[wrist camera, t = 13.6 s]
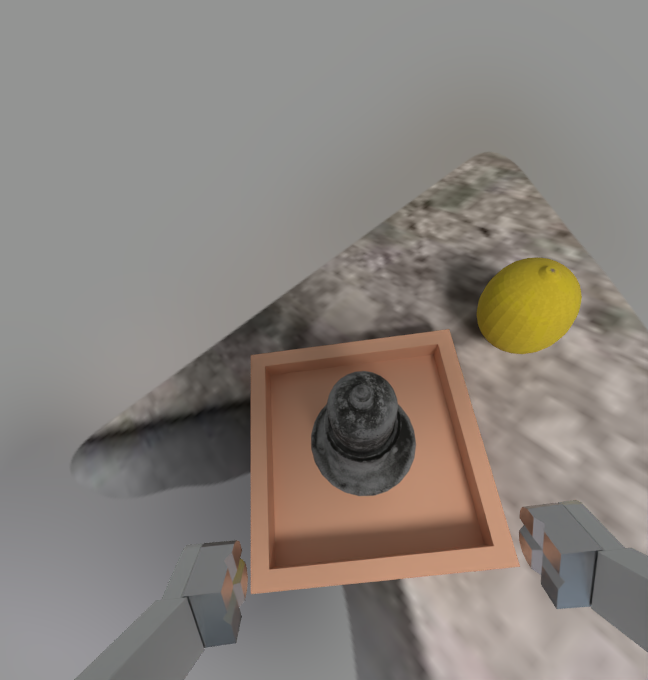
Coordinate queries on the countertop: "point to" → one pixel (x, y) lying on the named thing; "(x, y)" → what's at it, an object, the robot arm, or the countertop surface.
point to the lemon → (528, 305)
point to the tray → (383, 509)
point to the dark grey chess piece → (363, 436)
